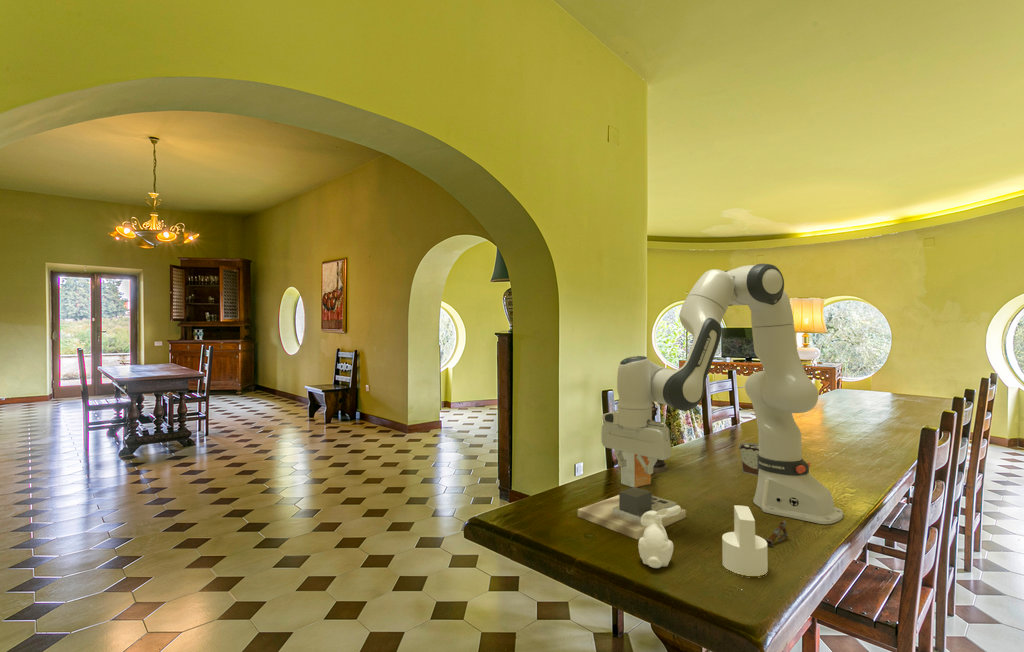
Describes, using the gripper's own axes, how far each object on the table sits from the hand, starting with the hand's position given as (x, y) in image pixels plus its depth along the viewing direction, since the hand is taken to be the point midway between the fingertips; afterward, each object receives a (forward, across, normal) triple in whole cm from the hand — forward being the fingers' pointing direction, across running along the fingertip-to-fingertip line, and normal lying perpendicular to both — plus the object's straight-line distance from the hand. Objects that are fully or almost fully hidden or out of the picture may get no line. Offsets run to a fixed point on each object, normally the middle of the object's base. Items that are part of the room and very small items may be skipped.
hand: (635, 469), depth 133 cm
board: (+15, +5, -4) cm, 16 cm away
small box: (+15, +22, -29) cm, 39 cm away
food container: (+15, 0, -71) cm, 73 cm away
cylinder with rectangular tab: (+15, -29, +1) cm, 33 cm away
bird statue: (+15, +27, -49) cm, 58 cm away
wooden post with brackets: (+15, -28, -17) cm, 37 cm away
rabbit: (+15, -14, +12) cm, 24 cm away
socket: (+13, 0, -4) cm, 14 cm away
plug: (+12, 0, -1) cm, 12 cm away
